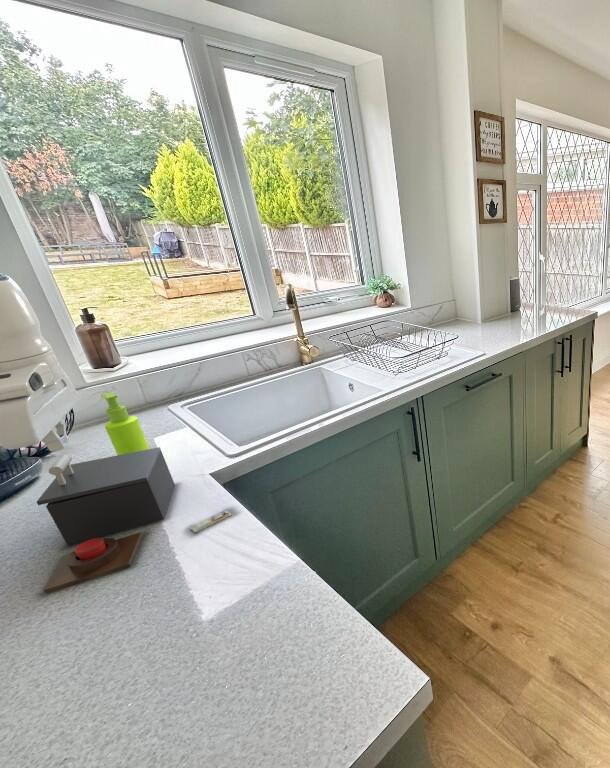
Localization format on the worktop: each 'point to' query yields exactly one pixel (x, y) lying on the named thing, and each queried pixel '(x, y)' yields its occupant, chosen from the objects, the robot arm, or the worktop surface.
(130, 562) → the button block
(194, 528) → the granola bar
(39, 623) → the worktop surface
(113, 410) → the soap dispenser
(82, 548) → the button
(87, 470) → the box lid
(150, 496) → the grey lidded storage box
